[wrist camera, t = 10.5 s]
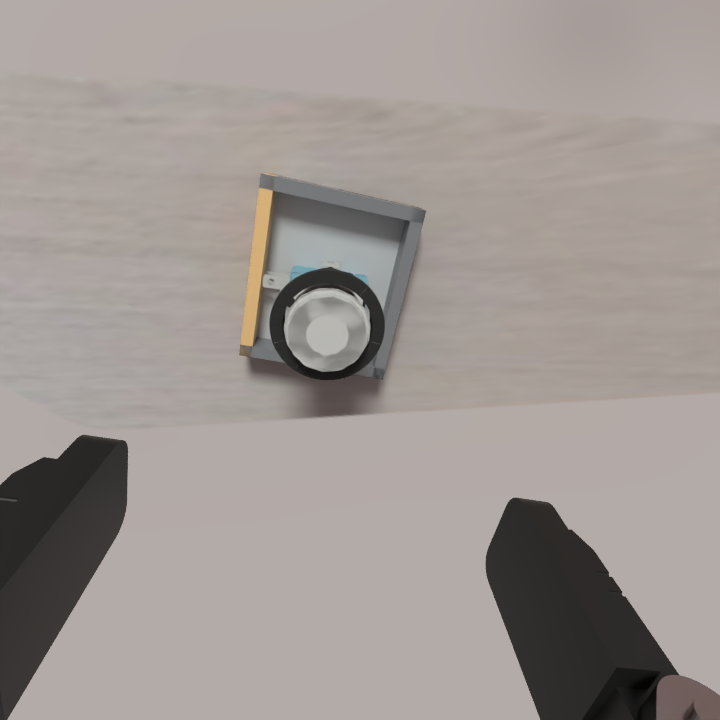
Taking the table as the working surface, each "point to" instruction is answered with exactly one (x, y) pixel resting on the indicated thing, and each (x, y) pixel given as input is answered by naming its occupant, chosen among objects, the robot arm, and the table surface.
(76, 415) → the table surface
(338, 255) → the tray
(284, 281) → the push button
